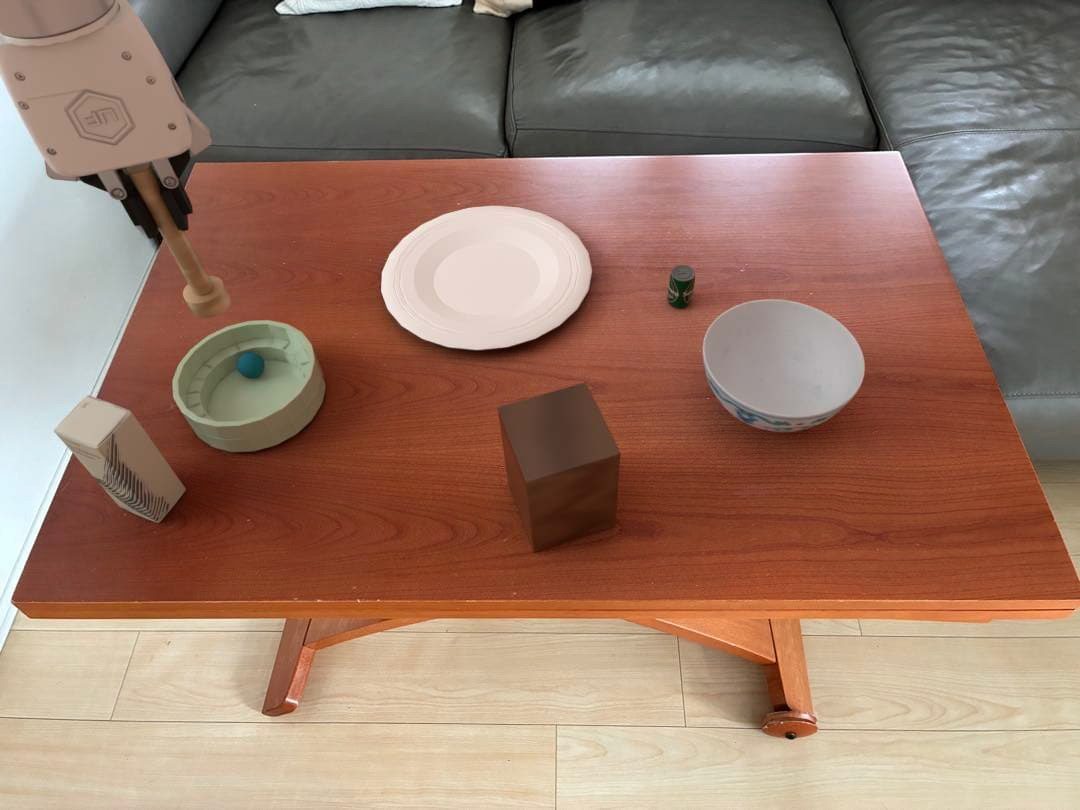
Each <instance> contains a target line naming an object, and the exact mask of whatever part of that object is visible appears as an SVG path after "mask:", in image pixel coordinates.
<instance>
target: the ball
mask: <svg viewBox="0 0 1080 810" xmlns="http://www.w3.org/2000/svg"><path fill="white" fill-rule="evenodd" d="M264 367H265V364H264V361H263V359H262V357H261V356H260V355H258V354H256V353H253V352H248V353H245V354H243V355H241V356H240V357H239V359H238V361H237V369H238V371H239V373H240V374H241V375H242V376H244V377H246V378H256V377H258V376H259V375H261V374H262V372H263V370H264Z"/></svg>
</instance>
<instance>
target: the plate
mask: <svg viewBox="0 0 1080 810" xmlns="http://www.w3.org/2000/svg"><path fill="white" fill-rule="evenodd" d="M592 274H593V269H592V263H591V259H590V254H589V251H588V249H586V246H585V245H584V244H583V241H582V240H581V239H580V237H579V235H577V234H576V233H575V232H573V230H571V229H570V228H569V227H568V226H566V225H565V224H564V223H563V222H561V221H559V220H557V219H555V218H553V217H551V216H549V215H547V214H545V213H542V212H540V211H535V210H531V209H527V208H524V207H518V206H508V205H507V206H505V205H484V206H483V205H482V206H475V207H467V208H463V209H458V210H455V211H451V212H448V213H443V214H442V215H439V216H437V217H435V218H433V219H431V220H429V221H426V222H424V223H422V224H421V225H419V226H418V227H416V228H414V229H413V230H412V231H411V232H410V233H408V234H407V235H405V236H404V237H403V238H402V239H400V241H399V242H398V244H397V245H395V247H394V248H393V250H392V251H391V252H390V253H389V255H388V258H387V260H386V262H385V264H384V267H383V269H382V271H381V284H380V285H381V287H380V293H381V295H382V297H383V301H384V303H385V306H386V309H387V311H388V313H389V314H390V315H391V316H392V317H393V318H394V320H396V322H397V324H399V325H400V327H401V328H402V329H405V330H406V331H408V332H409V333H411V334H413V335H414V336H415V337H417V338H419V339H420V340H422V341H426V342H427V343H430V344H434V345H437V346H440V347H444V348H446V349H454V350H463V351H473V352H480V351H481V352H483V351H491V350H492V351H493V350H503V349H510V348H512V347H516V346H520V345H523V344H526V343H529V342H532V341H535V340H538V339H539V338H541V337H543V336H545V335H546V334H548V333H550V332H552V331H554V330H556V329H557V328H559V327H561V325H563V324H564V323H565V322H566V321H567V320H568V319H569V318H571V316H572V315H574V314H575V313H576V312H577V311H578V310H579V308H580V306H581V305H582V303H583V301H584V300H585V298H586V296H587V294H588V293H589V291H590V285H591V279H592Z"/></svg>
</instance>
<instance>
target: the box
mask: <svg viewBox="0 0 1080 810" xmlns="http://www.w3.org/2000/svg"><path fill="white" fill-rule="evenodd" d="M53 432H54V433H55V435H56V436H57V437H58V439H60V441H62V443H63V444H64V445H65V446H66V447H67V449H69V451H70V452H71V453H72V454H73V455H74V456H75V457H76V458H77V460H78V461H79V462H80V463H81V464H82V466H84V468H85V469H86V470H87V471H88V472H89V474H90V475H91V476H92V477H93V478H94V479H95V480H96V481H97V483H98V484H99V485H100V486H101V487H102V489H103V490H104V491H105V492H106V493H107V494H108V495H109V497H110V498H111V499H112V500H113V501H114V502H115V504H117V506H118V507H119V508H121V509H122V510H125V511H127V512H130V513H132V514H133V515H136V516H139V517H140V518H143V519H145V520H149V521H151V522H154V523H157V524H159V523H160V522H162V520H163V519H164V518H165V517H166V516H167V515H168V513H169V512H170V511H171V510H172V509H173V507H175V505H176V504H177V503H178V501H179V500H180V499H181V497H182V496H183V495H184V494H185V492H186V491H187V489H186V487H185V485H184V484H183V483H182V481H181V480H180V479H179V477H178V475H177V474H176V473H175V471H174V470H173V469H172V467H171V466H170V465H169V463H168V462H167V460H166V459H165V457H164V456H163V455H162V452H161V451H160V450H159V449H158V447H157V446H156V445H155V443H154V442H153V440H152V439H151V438H150V436H149V435H148V433H147V432H146V430H145V429H144V427H143V425H141V424H140V422H139V421H138V419H137V418H136V416H135V415H134V414H133V412H132V411H131V410H129V409H128V408H127V409H126V408H124V407H123V406H119V405H117V404H115V403H112V402H109V401H107V400H104V399H100V398H97V397H95V396H93V395H88V394H87V395H86V396H85V397H84V398H82V399H81V400H80V401H79V402H78V404H77V405H76V406H75V407H73V408H72V410H71V411H70V412H68V414H67V415H66V416H65V417H64V418H63V419H62V420H61V421H60V422H59V423H58V425H56V426H55V428H54V429H53Z"/></svg>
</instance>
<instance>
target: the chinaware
mask: <svg viewBox="0 0 1080 810" xmlns="http://www.w3.org/2000/svg"><path fill="white" fill-rule="evenodd" d="M702 362H703V368H704V373H705V376H706V379H707V383H708V385H709V387H710V389H711V391H712V393H713V395H714V396H715V398H716V400H717V401H718V402H719V403H720V405H721V406H722V407H723V408H724V409H725V410H726V411H727V412H728V413H729V414H731V415H732V416H733V417H734V418H736V419H738V420H739V421H740V422H742V423H743V424H746V425H748V426H750V427H753V428H756V429H759V430H762V431H766V432H772V433H773V432H774V433H793V432H794V433H795V432H800V431H804V430H808V429H812V428H814V427H816V426H818V425H820V424H823V423H825V422H827V421H828V420H830V419H831V418H833V417H834V416H836V414H838V413H839V412H840V411H841V410H843V409H844V408H845V407H846V406H847V405H848V404H849V403H850V401H851V400H853V398H854V397H855V396H856V395H857V393H858V392H859V390H860V388H861V386H862V384H863V381H864V379H865V378H864V377H865V371H866V364H865V357H864V353H863V351H862V348H861V346H860V344H859V342H858V340H856V338H855V337H854V334H852V333H851V332H850V330H849V329H848V328H847V327H846V326H845V325H844V324H842V323H841V322H840V321H839V320H838V319H836V318H835V317H833V316H831V315H830V314H828V313H827V312H825V311H823V310H820V309H819V308H816V307H814V306H811V305H809V304H805V303H801V302H798V301H794V300H787V299H777V298H776V299H775V298H767V299H766V298H765V299H756V300H751V301H745V302H743V303H740V304H737V305H734V306H732V307H731V308H728V309H727V310H725V311H723V312H722V313H721V314H719V315H718V316H717V317H716V318H715V319H714V320H713V322H711V324H710V325H709V326H708V328H707V330H706V332H705V335H704V338H703V342H702Z"/></svg>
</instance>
